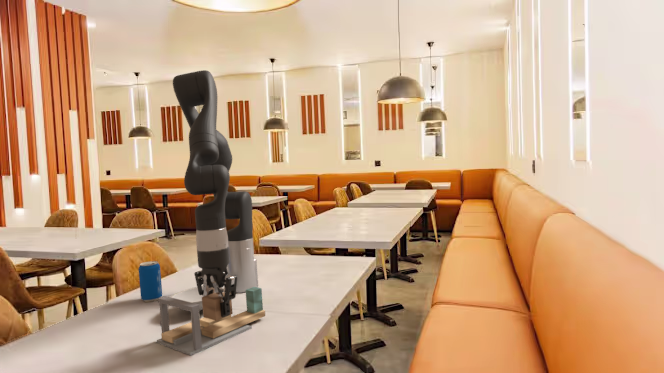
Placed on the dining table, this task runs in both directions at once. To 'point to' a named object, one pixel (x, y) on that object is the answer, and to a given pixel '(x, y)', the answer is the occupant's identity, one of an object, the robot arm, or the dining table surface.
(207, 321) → the light wood block
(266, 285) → the dining table surface
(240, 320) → the strip
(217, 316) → the walnut block
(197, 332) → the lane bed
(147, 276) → the beverage can
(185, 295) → the dish
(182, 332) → the far strip
